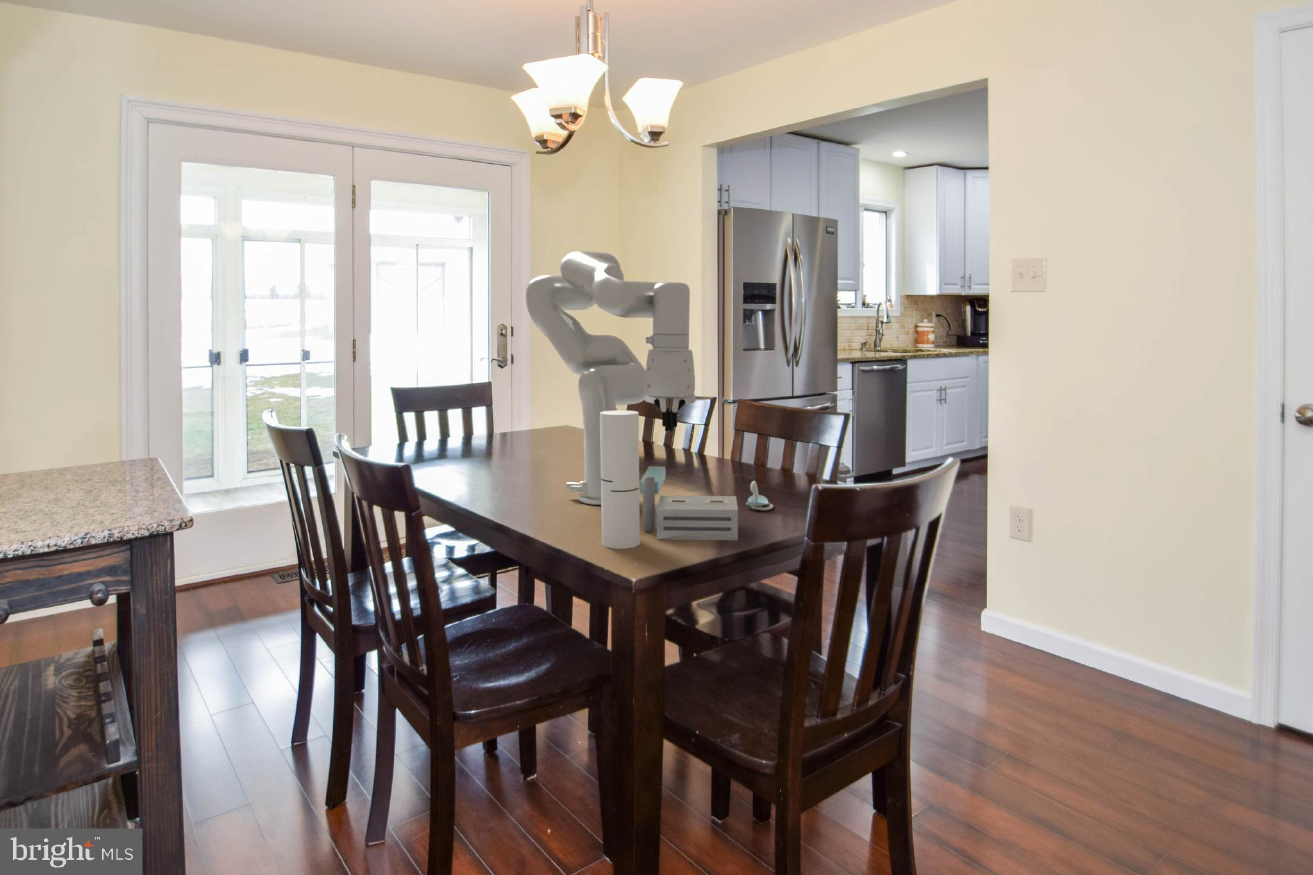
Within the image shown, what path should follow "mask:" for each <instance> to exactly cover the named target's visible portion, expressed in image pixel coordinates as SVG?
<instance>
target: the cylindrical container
mask: <svg viewBox="0 0 1313 875" xmlns="http://www.w3.org/2000/svg"><path fill="white" fill-rule="evenodd" d="M639 423H640V422H639V411H635V410H618V409H617V410H616V411H604V412H600V445H601V505H600V506H601V507H600V508H601V545H602V546H603V545H604V546H603V547H604V548H608V547H609V548H608V549H615V550H622V549H624V550H625V549H626V550H627V549H632V548H636V547H638V546H639V545H640V544H641V541H640V539H641V538H640V534H641V532H640V530H641V529H640V439H639V438H640V435H639V434H640V433H639V432H640V431H639V430H640V427H639V425H640V424H639Z"/></svg>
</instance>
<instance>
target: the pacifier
mask: <svg viewBox="0 0 1313 875" xmlns="http://www.w3.org/2000/svg"><path fill="white" fill-rule="evenodd" d="M749 488H750V492H751V493H752V495H750V496H749V497H748V499H747V501H746V502H745V505H746V506H750V508H751V509H752V510H756V511H757V510H758V511H769V510H772V509H773V508H774V505H773V504H772V503H770V502H769V500H768V498H767V497H766V496H764V495H761V494H759V489H758V488H759V487H758V484H757V482H756V480H753V481H751V483H750V487H749ZM763 506H765V507H763Z"/></svg>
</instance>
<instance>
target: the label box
mask: <svg viewBox="0 0 1313 875" xmlns="http://www.w3.org/2000/svg"><path fill="white" fill-rule="evenodd" d="M737 500H738V499H737V496H736V495H732V496H731V495H660V498H659V500H658V503H657V504H658V505H657V508H656V540H669V541H670V540H673V541H674V540H675V541H676V540H677V541H678V540H679V541H680V540H682V541H738V538H739V535H738V532H739V523H738V522H739V507H738V501H737Z"/></svg>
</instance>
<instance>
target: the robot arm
mask: <svg viewBox="0 0 1313 875" xmlns="http://www.w3.org/2000/svg"><path fill="white" fill-rule="evenodd" d="M618 260H619V259H617V258H616V257H615V256H614V255H613V254H611V253H608V252H602V251H601V252H597V251H584V250H583V251H582V250H581V251H580V250H579V251H573V252H570V253H568V254H567V255H566V256H565V257H564V258H563V259H562V260H561V263H560V267H559V269H560V274H546V275H539V276H537V277H535V278H533V279H531V281H529V283H528V284H527V287H526V290H525V301H526V302H525V303H526V307H527V311H528V314H529V316H530V318H531V320H532V321H533V323H534V325H535V326H536V327H537V329H539V331H540V332H541V333H542V334H543V335H544V336H545V337H546V338H547V340H548V341H549V342H550V343H551V345H552V346H553V347H554V349H555V351H556V352H557V354H558V355H559V357H560V358H561V360H562V361H563V362H564V364H565V365H566V367H567V368H568V369H569V370H570V372H572V373H573V374H574V375H577V376H578V375H579V378H578V381H577V382H578V394H579V398H580V399H579V400H580V403H581V409H582V419H583V420H582V422H583V423H582V424H583V451H584V454H583V456H584V460H583V461H584V465H583V466H584V479H583V480H580V481H579V482H575V481H574V482H573V481H570V482H568V481H567V482H566V491H570V492H579V494H578V495H577V496H578V498H577V499H578V501H579V502H581V503H583V504H587V505H593V506H594V505H595V506H601V445H600V412H604V411H616V410H618V408H617V406H627V405H634V404H635V405H636V404H639V403H642V402H643V401H645V402H646V403H650V404H654V405H655V406H656V407H657V408H658V409H659V410H660V411H661V414H662V422H661V424H662V427H664V432H669V431H670V432H674V431H675V428H677V427H678V411H679V410H680V409H682V407H683V406H685V405H689V404H694V403H695V402H697V399H696V395H695V389H696V376H695V375H696V374H695V362H694V356H693V350H692V349H690V306H691V305H690V299H691V298H690V297H691V294H690V293H691V291H690V287H689V285H688V284H687V283H684V282H673V281H671V282H669V281H668V282H658V281H657V282H655V281H653V282H652V281H634V280H633V281H630V280H628V281H627V280H625V278H624V273H623V271H622V269H621V265H620V262H619V261H618ZM595 305H596V306H597V307H598V308H600V309H601V310H603V311H605V312H607V313H608V314H611V315H613V316H616V317H619V318H626V319H627V318H630V319H633V318H635V319H636V318H642V319H643V318H647V319H650V318H651V319H652V335H651V336H646V337H645V344H649V345H651V347H652V348H649V349H648V352H647V359H646V365H645V366H643V364H642V363H641V362H640V361H639V359H638V358H637V357H636V355H635V353H633V351H632V350H631V349H630V347H629V346H628V345H627V343H626V342H625V341H623V340H622V339H621V338H619V337H618V336H614V335H609V334H591V333H588V331H587V330H586V329H585V328H584V327H583V326H582V324H581V322H579V321H578V319H577V318H575V317H574V316H573V315H571V314H569V313H568V312H566V311H585V310H588V309H591V308H592V307H593V306H595ZM668 399H673V401H672V408H671V409H670V408H669V405H668V404H669V403H668Z"/></svg>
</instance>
